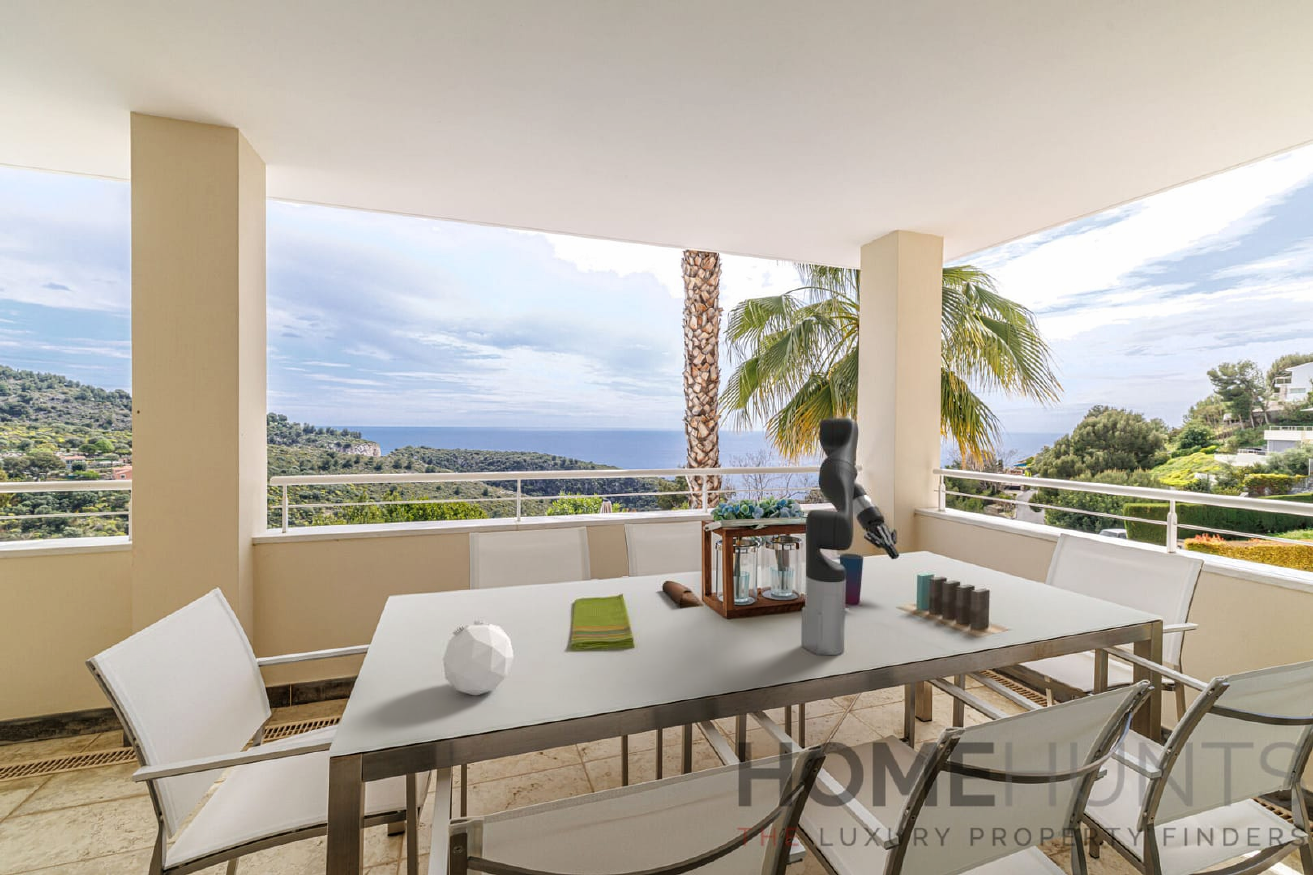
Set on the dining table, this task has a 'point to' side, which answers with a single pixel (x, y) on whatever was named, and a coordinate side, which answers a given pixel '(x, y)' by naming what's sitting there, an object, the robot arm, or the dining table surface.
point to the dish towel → (601, 624)
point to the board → (954, 622)
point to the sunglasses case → (681, 594)
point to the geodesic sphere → (478, 658)
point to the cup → (852, 577)
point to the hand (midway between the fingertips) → (895, 557)
